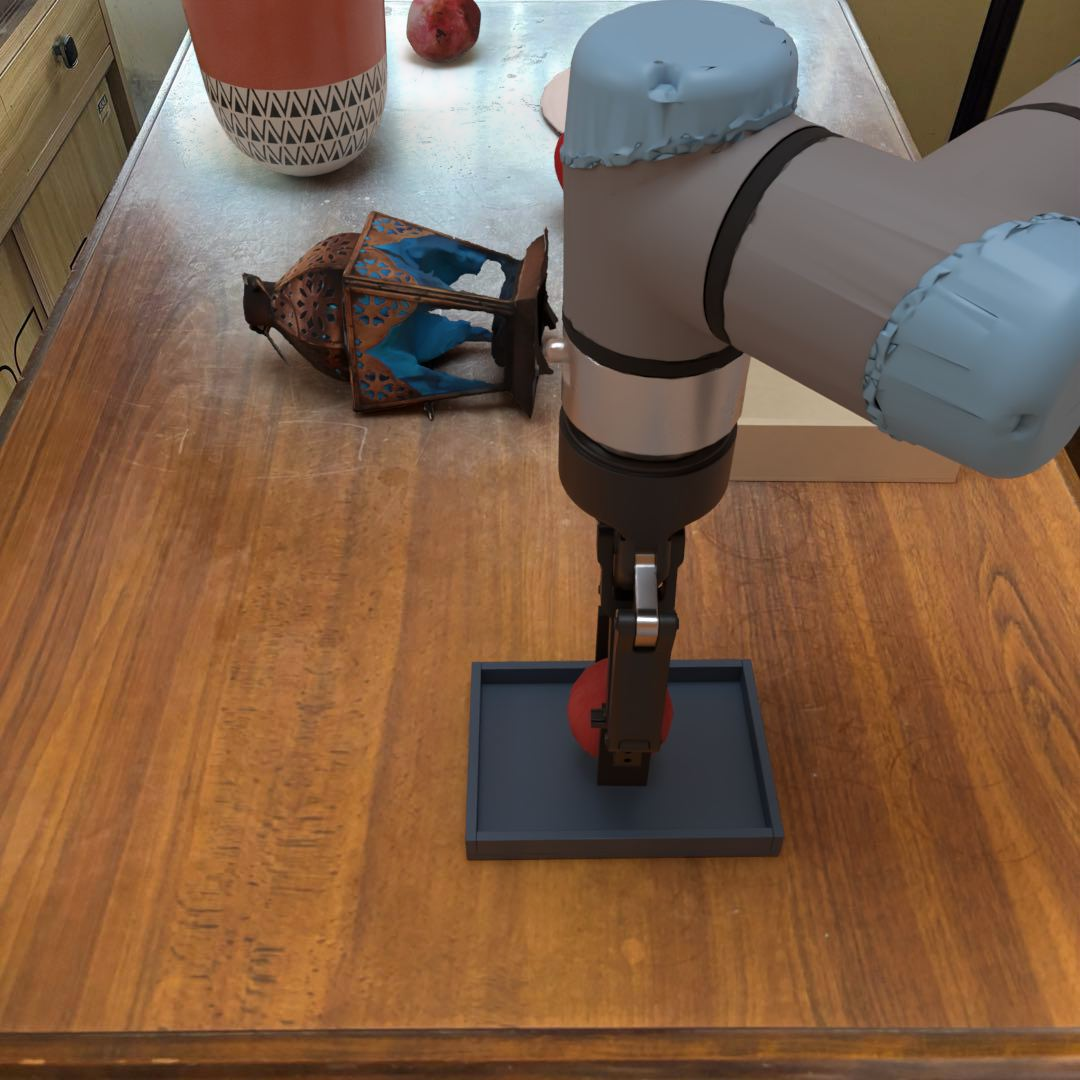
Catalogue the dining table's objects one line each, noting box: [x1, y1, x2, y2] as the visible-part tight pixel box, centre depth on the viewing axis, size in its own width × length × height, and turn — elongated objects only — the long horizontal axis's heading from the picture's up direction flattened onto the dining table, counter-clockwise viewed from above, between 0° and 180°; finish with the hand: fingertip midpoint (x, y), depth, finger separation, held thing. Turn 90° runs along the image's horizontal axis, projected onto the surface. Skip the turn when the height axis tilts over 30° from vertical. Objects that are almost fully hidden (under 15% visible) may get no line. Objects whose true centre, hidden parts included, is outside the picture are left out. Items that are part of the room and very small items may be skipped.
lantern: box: [241, 210, 559, 421], centre depth 87 cm, size 16×16×25 cm
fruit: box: [405, 0, 482, 63], centre depth 134 cm, size 9×10×10 cm
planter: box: [180, 0, 388, 177], centre depth 110 cm, size 20×20×21 cm
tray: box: [464, 658, 786, 861], centre depth 64 cm, size 17×12×2 cm
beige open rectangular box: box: [729, 357, 962, 484], centre depth 87 cm, size 20×18×5 cm
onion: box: [567, 658, 674, 759], centre depth 61 cm, size 6×6×8 cm
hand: (619, 729), depth 62 cm, fingers closed on onion, 6 cm apart
